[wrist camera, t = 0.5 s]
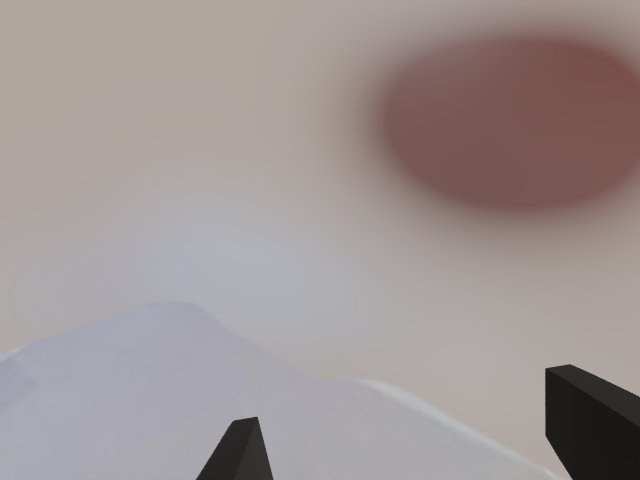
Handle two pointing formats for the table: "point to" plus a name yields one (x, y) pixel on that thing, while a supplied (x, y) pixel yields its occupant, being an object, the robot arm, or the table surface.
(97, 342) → the table surface
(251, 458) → the robot arm
